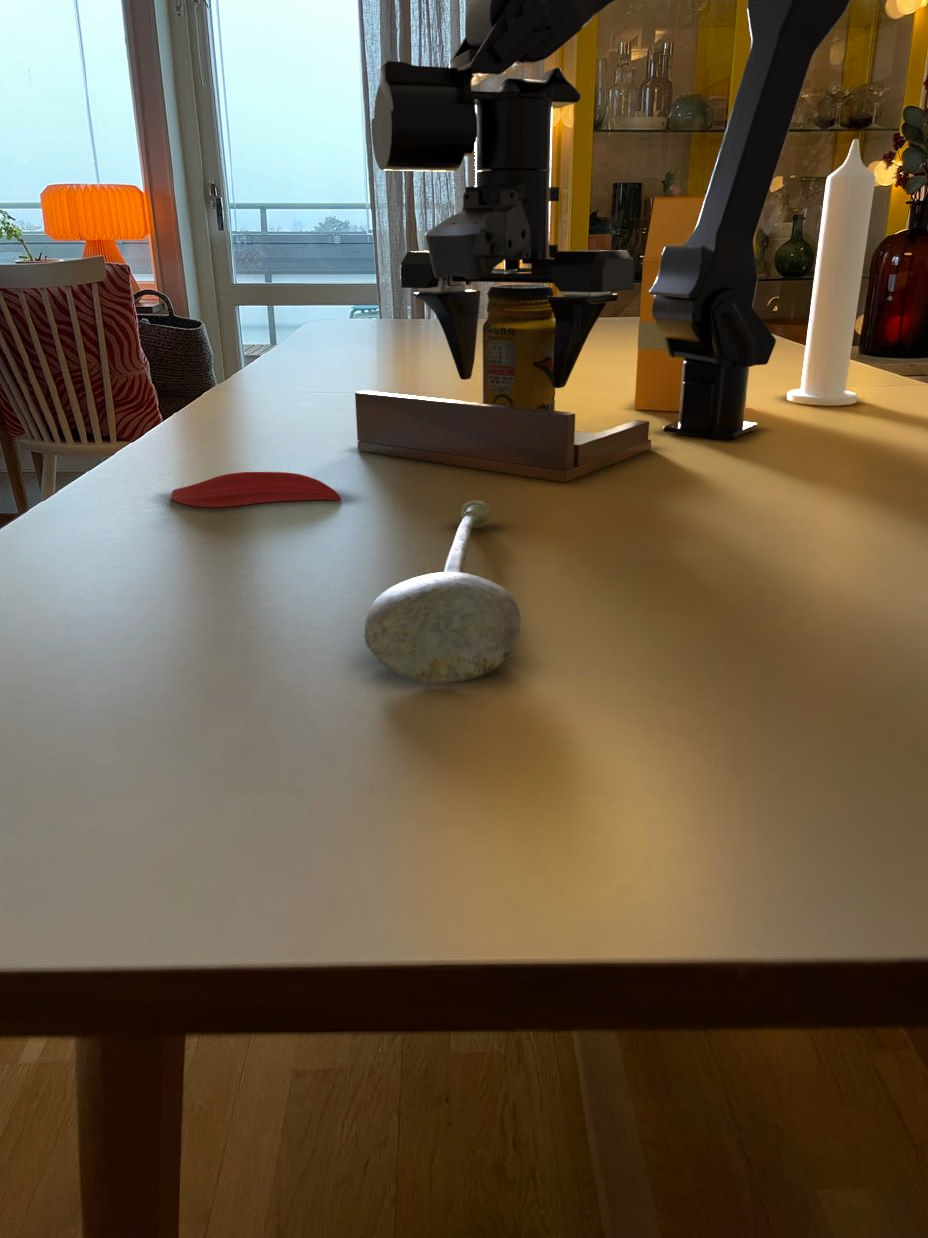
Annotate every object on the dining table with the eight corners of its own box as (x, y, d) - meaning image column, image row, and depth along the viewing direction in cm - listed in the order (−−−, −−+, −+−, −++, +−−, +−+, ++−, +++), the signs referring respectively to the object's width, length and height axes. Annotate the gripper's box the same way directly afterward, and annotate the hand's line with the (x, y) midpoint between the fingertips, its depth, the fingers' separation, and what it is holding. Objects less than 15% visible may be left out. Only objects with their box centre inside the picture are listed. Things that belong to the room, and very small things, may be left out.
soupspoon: (349, 695, 37) (513, 708, 37) (347, 618, 36) (518, 630, 35) (424, 522, 57) (531, 529, 57) (425, 468, 56) (535, 475, 55)
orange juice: (721, 413, 93) (742, 192, 85) (633, 409, 96) (645, 195, 88) (729, 401, 100) (749, 196, 92) (646, 398, 103) (659, 198, 95)
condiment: (575, 438, 78) (581, 285, 74) (492, 450, 74) (492, 289, 69) (523, 425, 84) (525, 282, 79) (443, 435, 79) (440, 286, 75)
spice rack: (457, 425, 88) (456, 373, 87) (651, 449, 77) (654, 390, 76) (357, 450, 78) (354, 392, 76) (565, 482, 67) (567, 414, 65)
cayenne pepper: (154, 504, 62) (150, 476, 62) (187, 487, 67) (184, 461, 66) (325, 512, 60) (323, 483, 59) (348, 494, 64) (346, 467, 64)
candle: (867, 405, 97) (908, 134, 87) (798, 406, 97) (832, 135, 87) (842, 395, 103) (878, 141, 94) (778, 395, 103) (807, 142, 94)
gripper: (349, 173, 70) (359, 386, 76) (565, 158, 60) (558, 406, 65) (440, 179, 78) (443, 371, 84) (643, 168, 68) (631, 387, 74)
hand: (511, 383), depth 77 cm, fingers open, 9 cm apart
